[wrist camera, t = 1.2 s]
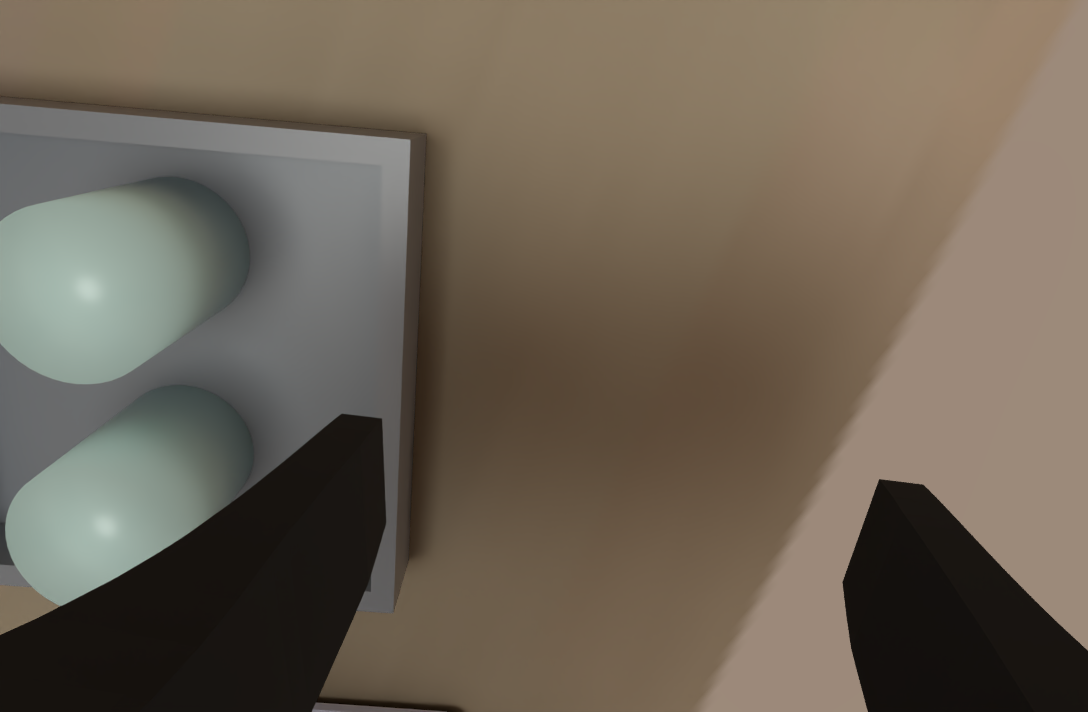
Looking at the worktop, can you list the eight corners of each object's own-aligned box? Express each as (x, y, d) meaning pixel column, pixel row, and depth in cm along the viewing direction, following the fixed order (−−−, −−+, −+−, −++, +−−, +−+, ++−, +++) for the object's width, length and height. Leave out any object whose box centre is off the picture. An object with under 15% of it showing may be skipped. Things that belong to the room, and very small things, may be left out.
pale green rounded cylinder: (255, 512, 23) (180, 622, 18) (123, 502, 23) (14, 610, 18) (252, 390, 22) (172, 473, 17) (114, 379, 22) (-5, 459, 17)
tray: (408, 560, 24) (393, 613, 22) (-12, 529, 24) (-76, 579, 22) (426, 133, 21) (410, 139, 18) (-68, 90, 20) (-153, 90, 18)
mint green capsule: (251, 324, 22) (168, 391, 17) (109, 313, 21) (-14, 376, 17) (248, 183, 20) (158, 211, 16) (99, 170, 20) (-36, 194, 16)
